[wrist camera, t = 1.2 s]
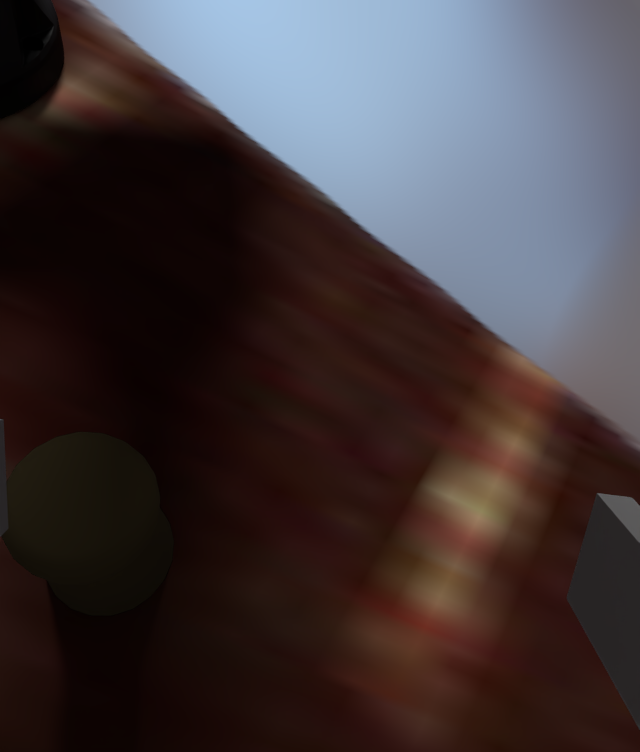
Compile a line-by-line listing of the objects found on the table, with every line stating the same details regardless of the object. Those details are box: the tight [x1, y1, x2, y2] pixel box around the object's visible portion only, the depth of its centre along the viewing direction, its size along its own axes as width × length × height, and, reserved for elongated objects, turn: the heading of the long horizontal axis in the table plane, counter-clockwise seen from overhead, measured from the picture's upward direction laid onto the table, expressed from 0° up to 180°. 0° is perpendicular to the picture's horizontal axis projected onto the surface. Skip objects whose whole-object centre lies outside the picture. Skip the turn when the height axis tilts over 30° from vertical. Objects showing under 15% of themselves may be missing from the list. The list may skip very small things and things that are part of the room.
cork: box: [2, 432, 174, 616], centre depth 24 cm, size 6×6×11 cm
